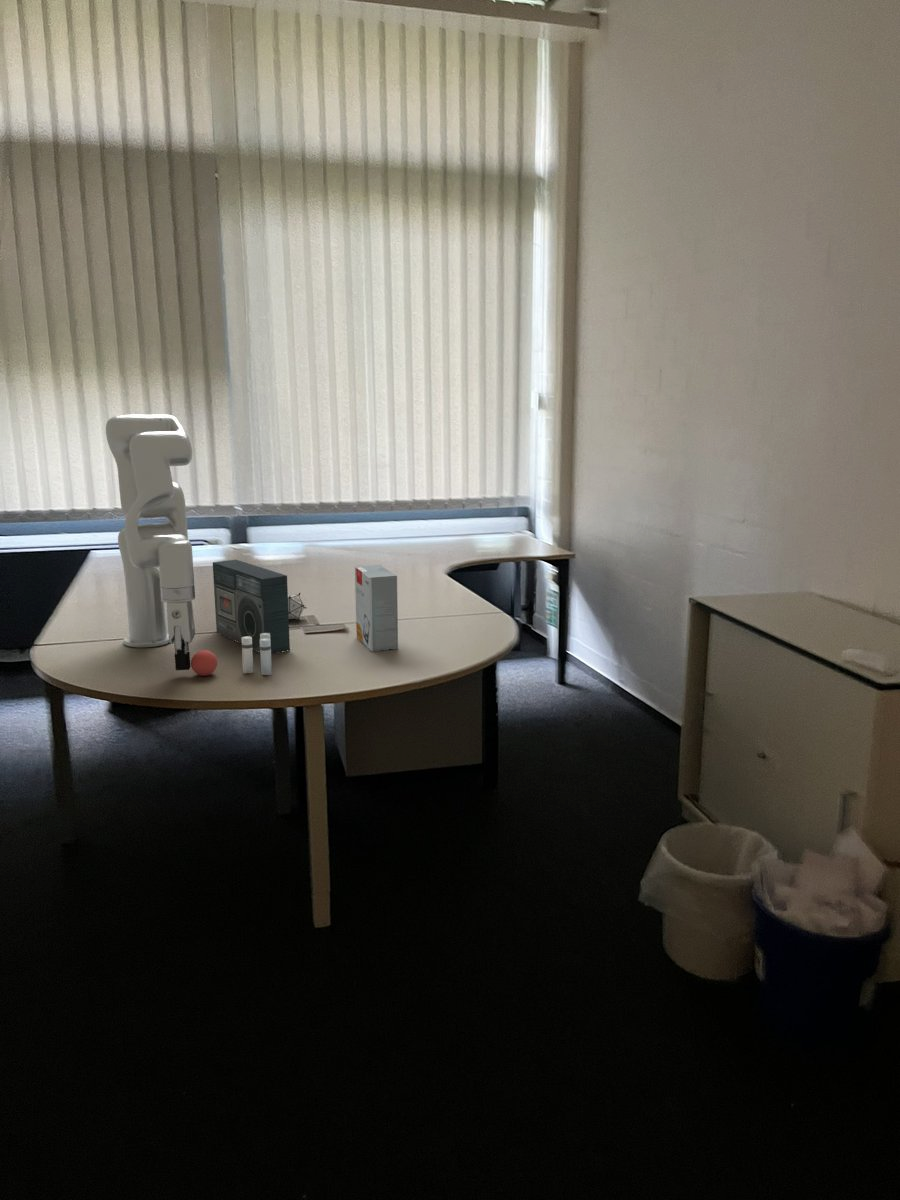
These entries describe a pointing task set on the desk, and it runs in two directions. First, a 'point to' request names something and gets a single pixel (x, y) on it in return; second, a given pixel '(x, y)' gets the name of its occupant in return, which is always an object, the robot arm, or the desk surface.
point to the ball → (204, 662)
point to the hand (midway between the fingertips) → (183, 668)
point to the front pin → (247, 654)
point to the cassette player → (251, 603)
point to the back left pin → (265, 635)
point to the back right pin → (265, 656)
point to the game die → (295, 606)
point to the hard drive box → (376, 607)
